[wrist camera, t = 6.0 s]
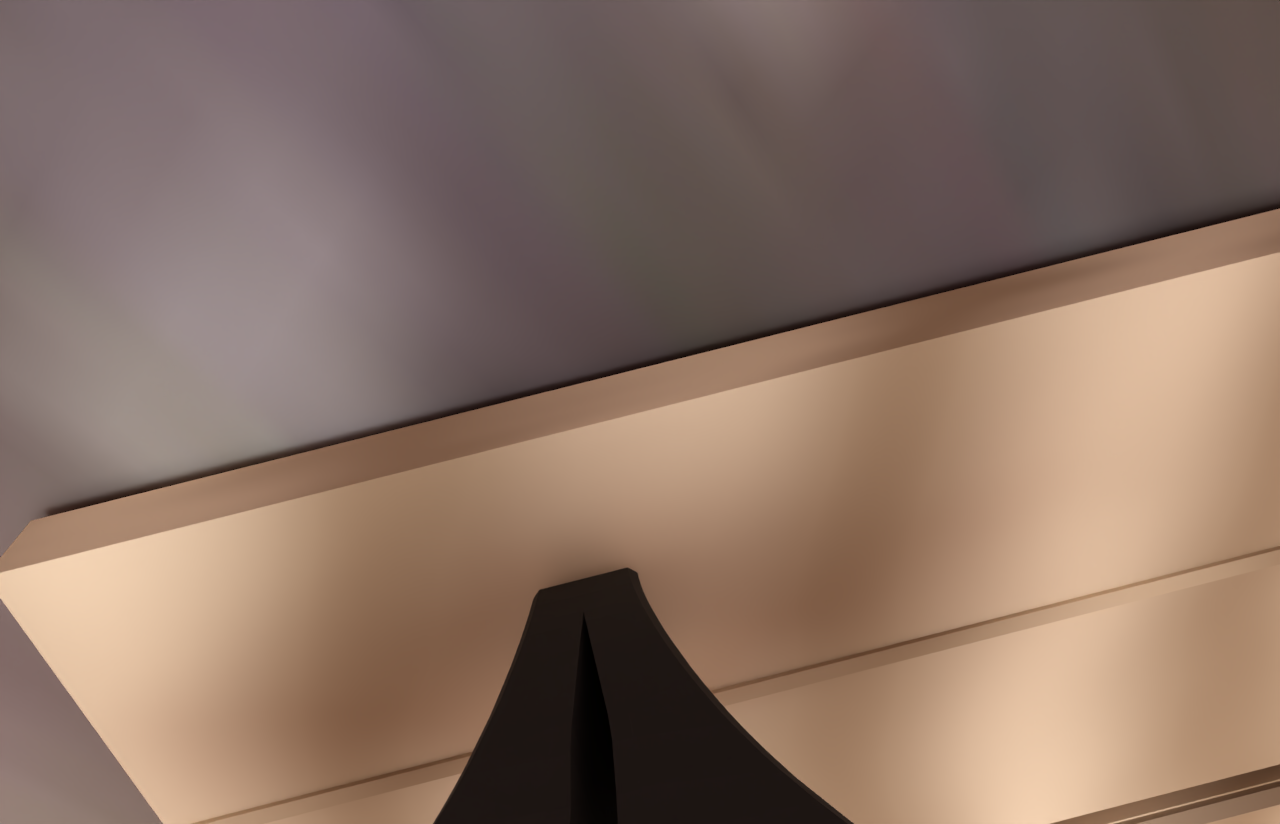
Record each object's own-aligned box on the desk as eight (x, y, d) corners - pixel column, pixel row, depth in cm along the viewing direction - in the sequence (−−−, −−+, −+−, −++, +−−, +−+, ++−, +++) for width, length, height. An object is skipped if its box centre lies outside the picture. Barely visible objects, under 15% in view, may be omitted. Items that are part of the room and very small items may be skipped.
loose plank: (1609, 125, 12) (1718, 145, 11) (1449, 657, 17) (1514, 707, 16) (31, 520, 12) (-19, 580, 11) (315, 949, 17) (301, 1020, 16)
